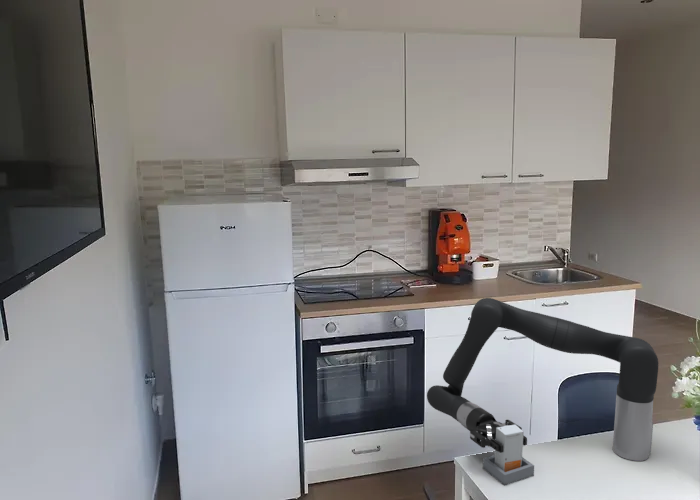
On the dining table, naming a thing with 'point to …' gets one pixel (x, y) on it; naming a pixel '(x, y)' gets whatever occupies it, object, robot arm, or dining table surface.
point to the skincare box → (509, 447)
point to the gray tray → (511, 475)
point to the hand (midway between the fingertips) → (514, 445)
